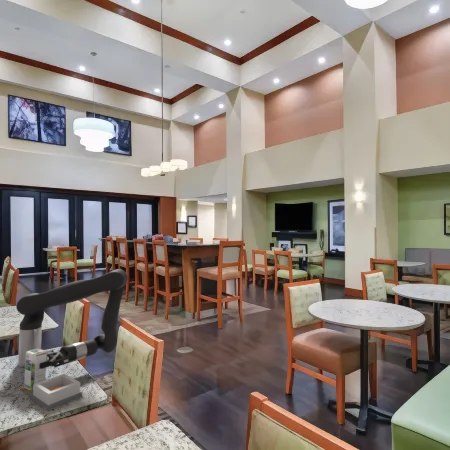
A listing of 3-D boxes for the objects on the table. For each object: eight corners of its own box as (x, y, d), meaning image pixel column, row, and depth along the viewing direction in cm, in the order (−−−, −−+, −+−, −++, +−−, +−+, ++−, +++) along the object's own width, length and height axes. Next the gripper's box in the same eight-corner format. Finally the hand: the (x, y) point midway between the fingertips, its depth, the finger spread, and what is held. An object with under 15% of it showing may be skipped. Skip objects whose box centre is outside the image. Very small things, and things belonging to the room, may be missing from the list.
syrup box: (23, 387, 132) (24, 351, 133) (38, 382, 138) (39, 347, 138) (31, 391, 130) (32, 354, 130) (46, 385, 135) (47, 350, 135)
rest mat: (18, 389, 133) (18, 387, 133) (39, 382, 139) (39, 380, 139) (27, 395, 128) (27, 393, 128) (48, 387, 134) (48, 386, 134)
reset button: (44, 396, 126) (45, 389, 126) (60, 390, 131) (60, 384, 131) (52, 401, 122) (52, 394, 122) (68, 395, 127) (68, 388, 127)
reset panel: (27, 396, 127) (28, 382, 127) (61, 384, 137) (61, 371, 137) (48, 410, 117) (48, 395, 117) (82, 396, 128) (82, 382, 128)
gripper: (65, 340, 151) (27, 350, 138) (82, 347, 143) (43, 358, 130) (65, 357, 151) (27, 368, 138) (81, 364, 143) (43, 377, 130)
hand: (35, 363), depth 134 cm, fingers open, 8 cm apart
